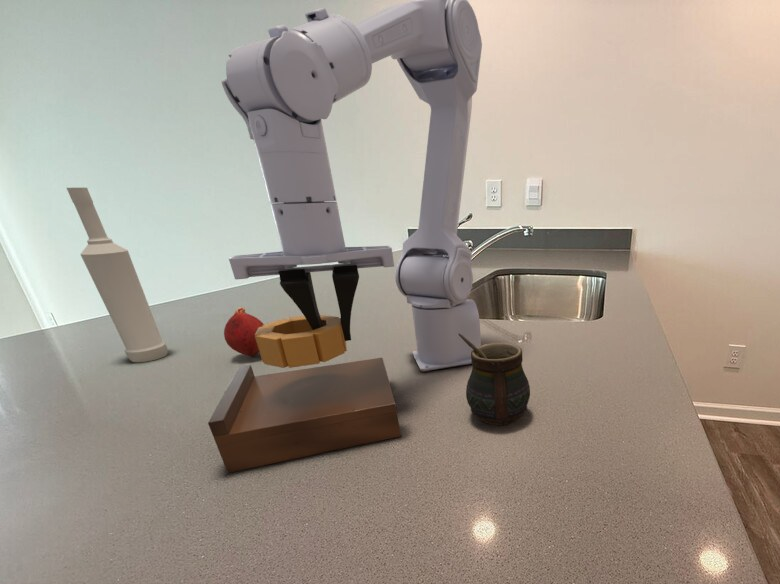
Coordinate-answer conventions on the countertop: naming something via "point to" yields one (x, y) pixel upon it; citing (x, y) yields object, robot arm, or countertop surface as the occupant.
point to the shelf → (303, 413)
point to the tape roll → (300, 342)
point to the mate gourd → (497, 383)
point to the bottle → (118, 285)
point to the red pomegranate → (242, 332)
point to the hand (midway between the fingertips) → (334, 339)
